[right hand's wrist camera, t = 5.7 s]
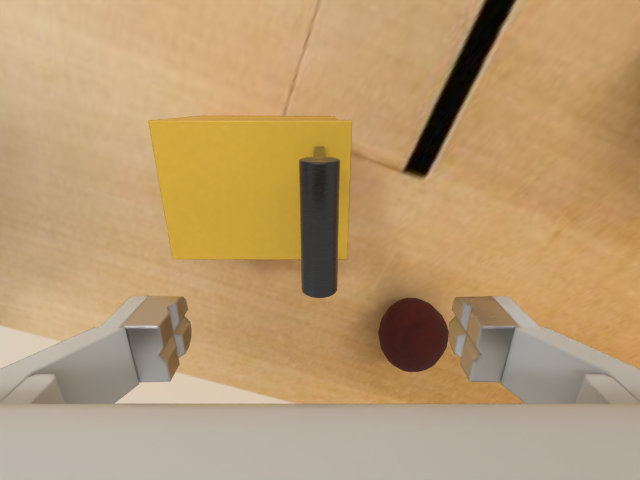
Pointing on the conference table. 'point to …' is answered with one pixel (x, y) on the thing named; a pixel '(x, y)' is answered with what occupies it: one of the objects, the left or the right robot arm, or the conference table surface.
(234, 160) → the yellow panel
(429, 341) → the potato
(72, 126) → the conference table surface
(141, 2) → the conference table surface
